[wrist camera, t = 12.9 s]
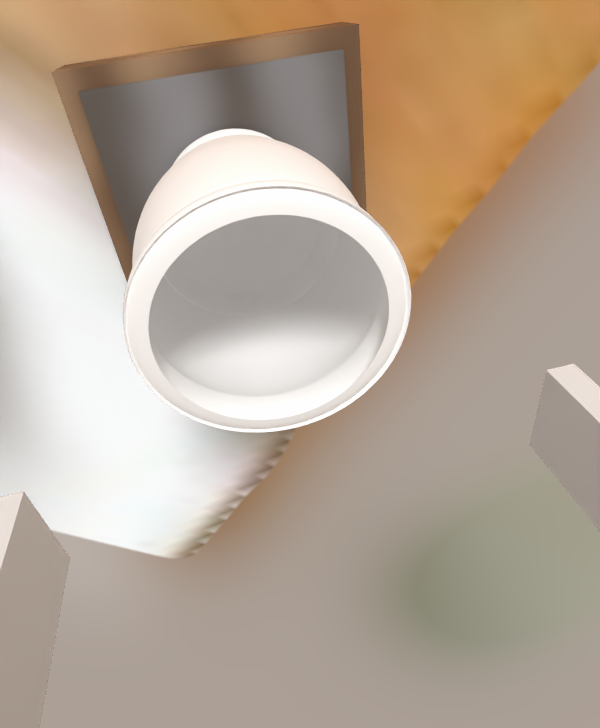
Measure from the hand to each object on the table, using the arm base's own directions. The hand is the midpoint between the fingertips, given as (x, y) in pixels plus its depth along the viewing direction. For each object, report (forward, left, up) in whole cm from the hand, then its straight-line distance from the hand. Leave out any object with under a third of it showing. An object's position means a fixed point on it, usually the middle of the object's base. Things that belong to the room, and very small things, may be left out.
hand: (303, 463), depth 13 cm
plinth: (0, 0, -26) cm, 26 cm away
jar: (0, 0, -22) cm, 22 cm away
